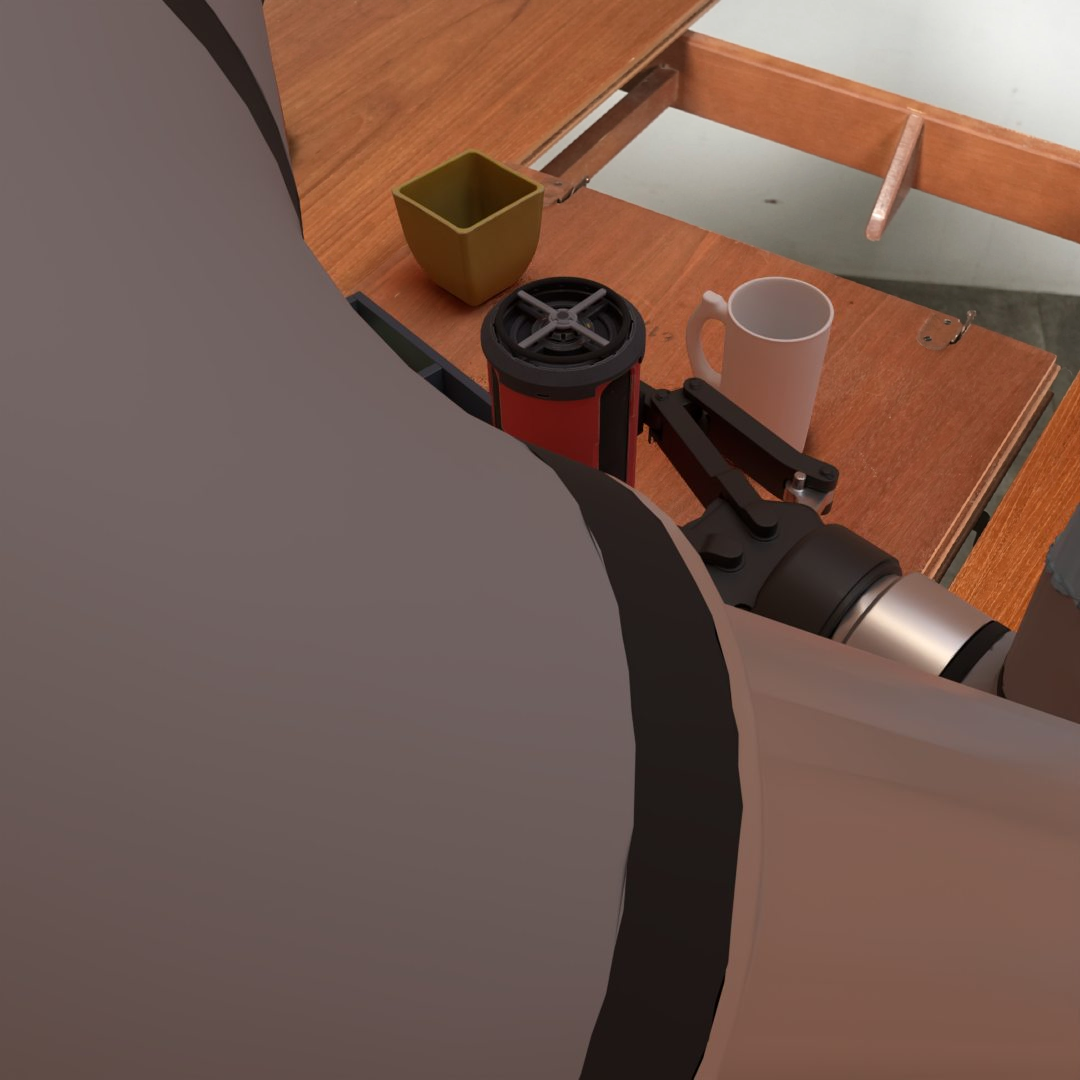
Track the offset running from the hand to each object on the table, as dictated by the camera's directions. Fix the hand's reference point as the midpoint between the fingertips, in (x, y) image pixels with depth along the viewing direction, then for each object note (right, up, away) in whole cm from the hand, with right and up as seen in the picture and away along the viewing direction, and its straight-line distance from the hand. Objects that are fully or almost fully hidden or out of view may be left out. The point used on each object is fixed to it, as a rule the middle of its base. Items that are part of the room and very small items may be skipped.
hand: (497, 396), depth 64 cm
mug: (+17, 0, +24) cm, 29 cm away
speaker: (+4, -9, +5) cm, 11 cm away
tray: (-9, 0, +24) cm, 26 cm away
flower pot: (-3, +14, +36) cm, 39 cm away
